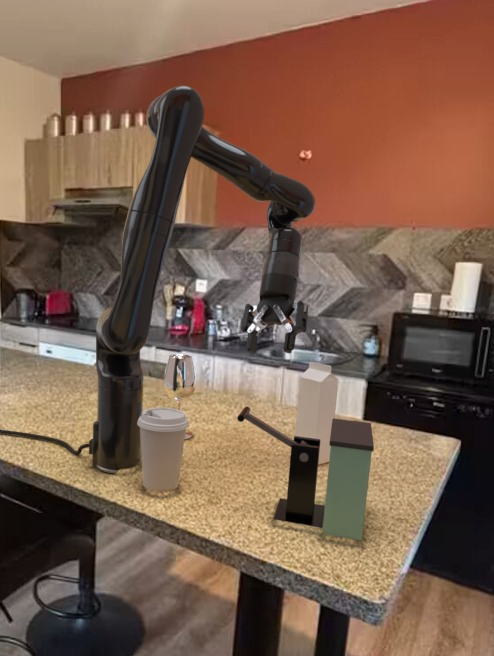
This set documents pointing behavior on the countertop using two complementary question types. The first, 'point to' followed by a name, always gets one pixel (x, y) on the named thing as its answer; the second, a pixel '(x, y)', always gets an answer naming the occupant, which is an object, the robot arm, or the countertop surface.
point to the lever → (266, 427)
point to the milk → (317, 406)
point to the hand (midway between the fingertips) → (268, 352)
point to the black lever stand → (302, 486)
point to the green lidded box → (347, 478)
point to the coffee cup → (162, 447)
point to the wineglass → (179, 380)
